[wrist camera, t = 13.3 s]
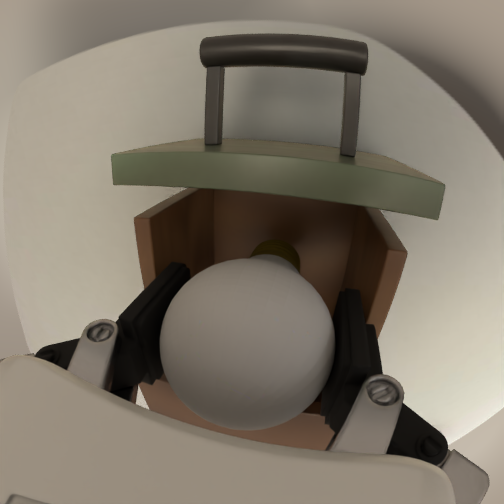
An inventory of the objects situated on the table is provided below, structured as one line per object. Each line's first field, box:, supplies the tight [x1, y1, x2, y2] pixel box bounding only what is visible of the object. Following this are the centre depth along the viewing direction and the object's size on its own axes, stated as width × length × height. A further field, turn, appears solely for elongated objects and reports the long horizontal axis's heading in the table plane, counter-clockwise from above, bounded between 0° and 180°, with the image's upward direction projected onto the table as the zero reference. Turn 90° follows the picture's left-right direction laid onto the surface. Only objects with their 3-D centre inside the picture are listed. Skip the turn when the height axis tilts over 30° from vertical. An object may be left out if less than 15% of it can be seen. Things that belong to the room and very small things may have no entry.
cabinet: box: [138, 373, 334, 451], centre depth 19 cm, size 15×13×10 cm
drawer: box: [111, 34, 445, 403], centre depth 13 cm, size 18×11×8 cm, turn 178°
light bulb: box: [160, 239, 336, 430], centre depth 11 cm, size 6×6×10 cm
